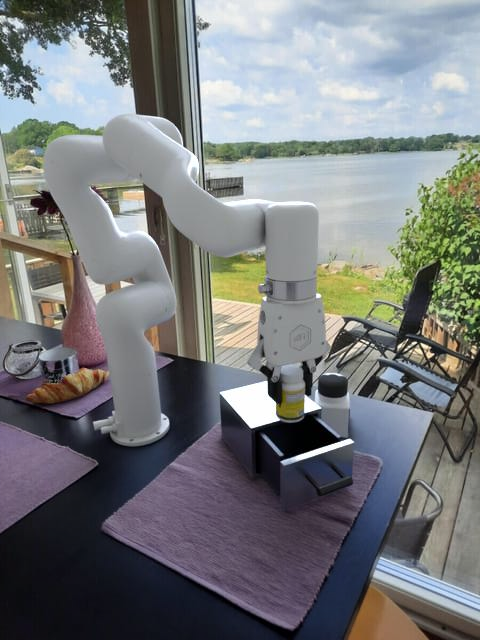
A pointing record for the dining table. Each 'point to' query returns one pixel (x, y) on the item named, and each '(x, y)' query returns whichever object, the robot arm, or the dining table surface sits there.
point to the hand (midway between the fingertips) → (290, 395)
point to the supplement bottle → (291, 394)
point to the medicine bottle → (334, 402)
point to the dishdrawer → (251, 420)
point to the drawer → (303, 460)
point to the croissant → (68, 386)
